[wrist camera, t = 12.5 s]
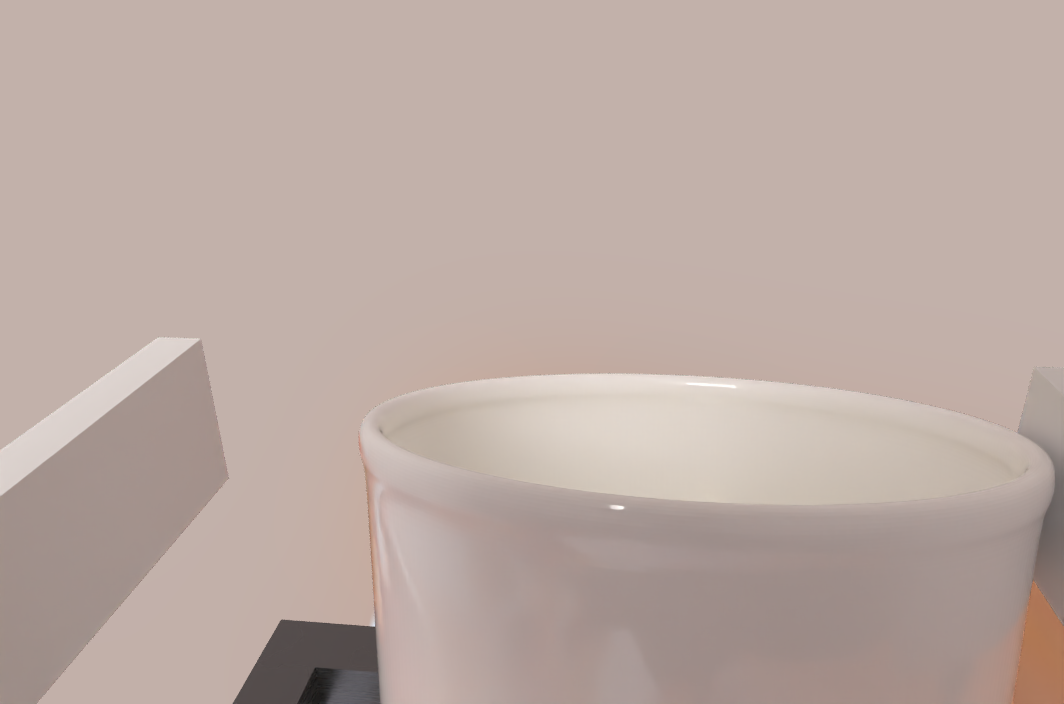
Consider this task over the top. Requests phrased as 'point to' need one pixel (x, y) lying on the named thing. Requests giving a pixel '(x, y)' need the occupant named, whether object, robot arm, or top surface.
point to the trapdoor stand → (315, 666)
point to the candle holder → (696, 544)
